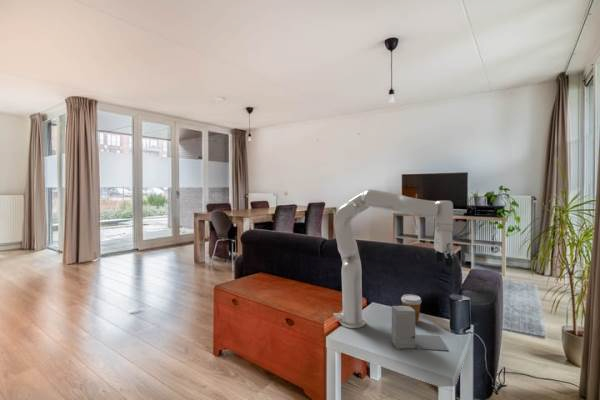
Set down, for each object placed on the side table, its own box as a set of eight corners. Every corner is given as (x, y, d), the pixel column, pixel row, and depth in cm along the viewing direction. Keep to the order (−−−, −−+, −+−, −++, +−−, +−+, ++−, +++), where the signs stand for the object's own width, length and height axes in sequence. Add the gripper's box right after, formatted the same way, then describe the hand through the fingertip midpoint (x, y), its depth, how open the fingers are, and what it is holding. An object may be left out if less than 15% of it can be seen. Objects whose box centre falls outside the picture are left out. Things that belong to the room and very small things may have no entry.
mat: (417, 349, 124) (417, 348, 124) (411, 335, 136) (411, 334, 136) (448, 351, 123) (448, 350, 122) (439, 336, 134) (439, 335, 134)
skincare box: (396, 349, 125) (395, 311, 124) (390, 341, 132) (390, 305, 131) (416, 348, 125) (416, 311, 124) (410, 340, 132) (409, 304, 131)
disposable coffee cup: (418, 317, 155) (418, 294, 154) (424, 325, 145) (424, 301, 145) (399, 316, 156) (399, 293, 155) (403, 325, 146) (403, 300, 146)
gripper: (428, 225, 149) (428, 259, 150) (443, 229, 132) (443, 268, 132) (443, 224, 149) (443, 259, 149) (461, 229, 132) (461, 268, 132)
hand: (443, 263), depth 141 cm, fingers open, 9 cm apart
